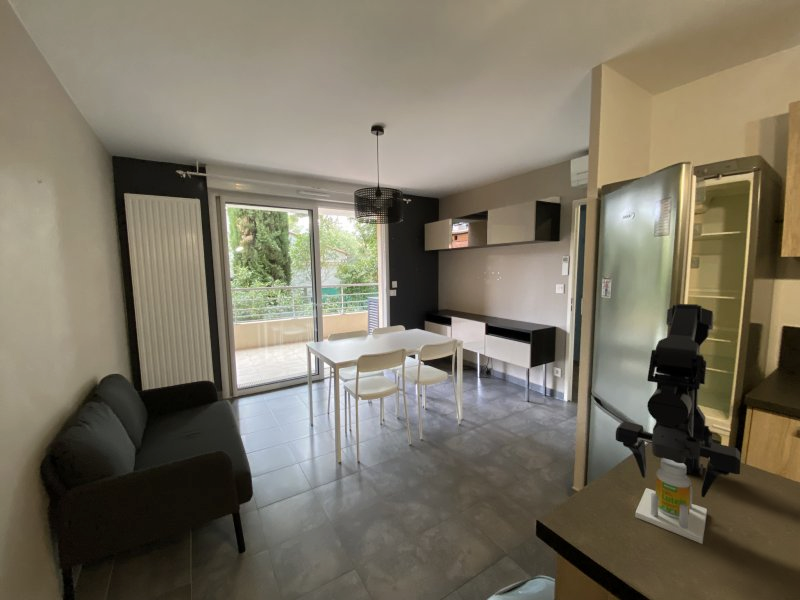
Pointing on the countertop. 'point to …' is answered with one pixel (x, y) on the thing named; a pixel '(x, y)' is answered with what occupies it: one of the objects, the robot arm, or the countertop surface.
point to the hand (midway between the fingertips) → (672, 486)
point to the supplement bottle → (672, 487)
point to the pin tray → (682, 525)
